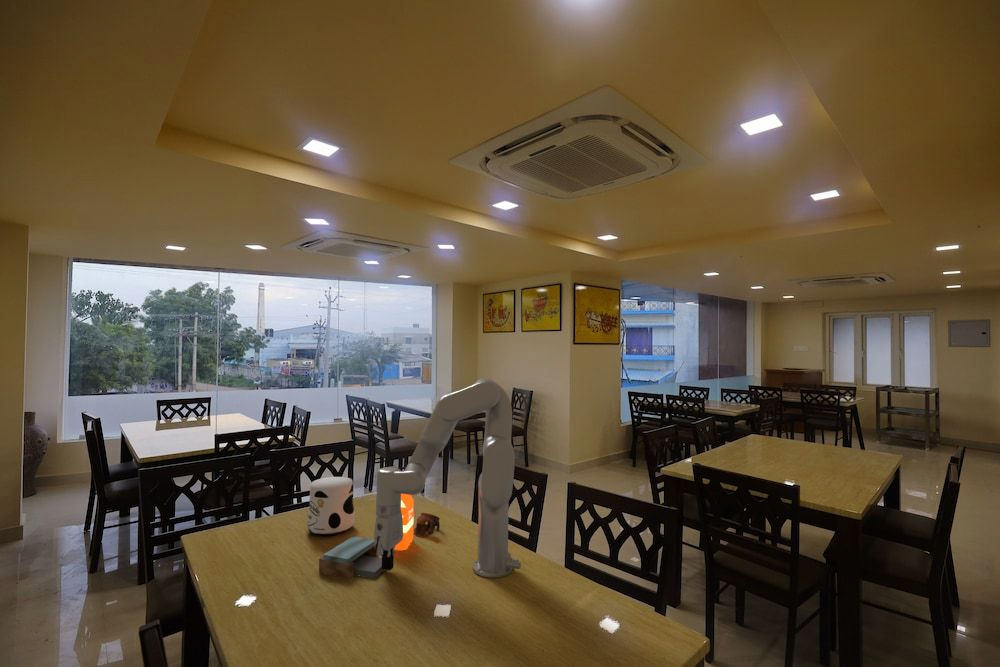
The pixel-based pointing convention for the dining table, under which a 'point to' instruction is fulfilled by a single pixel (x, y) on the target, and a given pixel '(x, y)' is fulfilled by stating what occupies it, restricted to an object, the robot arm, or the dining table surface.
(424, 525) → the pottery mug
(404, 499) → the orange juice
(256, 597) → the dining table surface
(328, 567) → the shelf dock
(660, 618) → the dining table surface
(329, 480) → the milk container
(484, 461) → the robot arm
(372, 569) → the slate tile
